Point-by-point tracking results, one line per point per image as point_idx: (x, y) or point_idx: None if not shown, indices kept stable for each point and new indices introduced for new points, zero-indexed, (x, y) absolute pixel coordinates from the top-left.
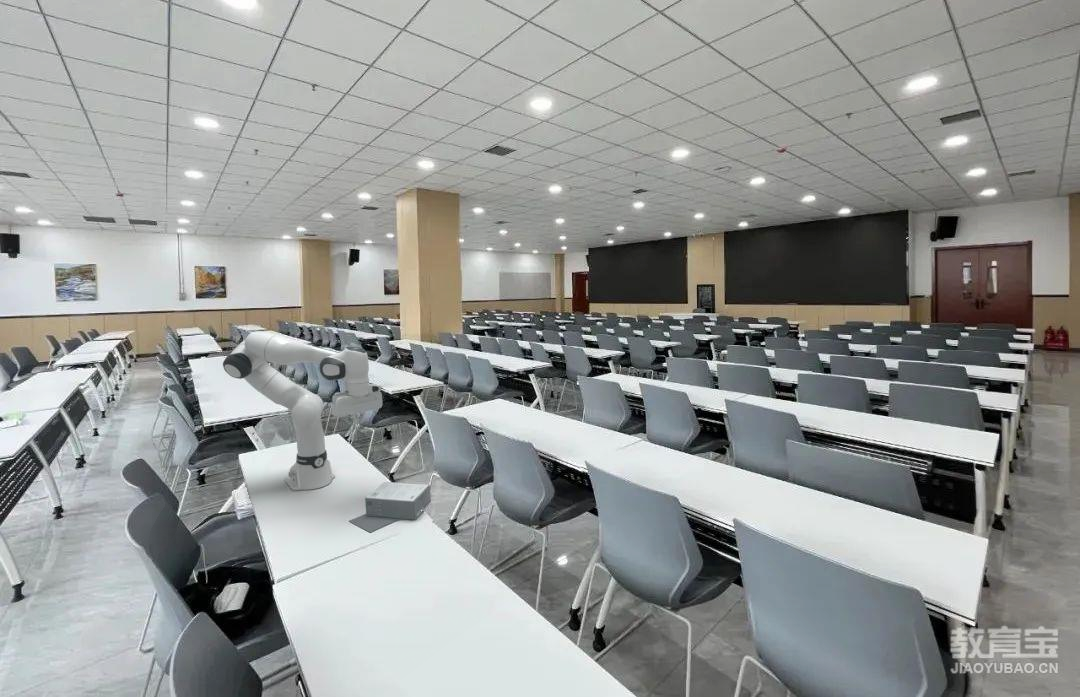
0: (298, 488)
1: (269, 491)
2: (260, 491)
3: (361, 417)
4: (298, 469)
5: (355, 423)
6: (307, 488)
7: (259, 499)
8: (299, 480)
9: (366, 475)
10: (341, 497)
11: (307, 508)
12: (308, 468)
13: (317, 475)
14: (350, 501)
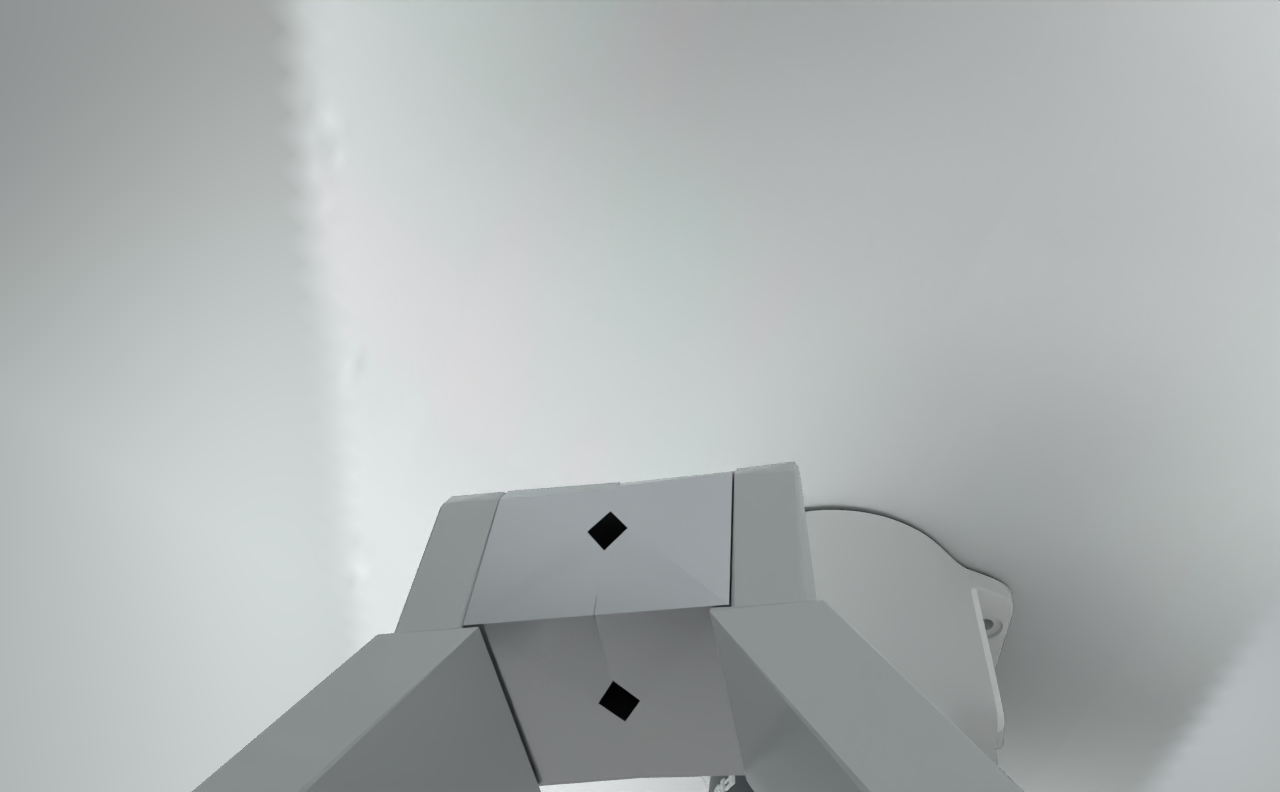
0: (982, 584)
1: (1130, 681)
2: (1169, 715)
3: (432, 720)
4: (993, 730)
5: (804, 522)
6: (928, 545)
7: (1263, 608)
8: (981, 637)
9: (413, 492)
10: (789, 204)
11: (1141, 191)
12: (928, 693)
13: (851, 606)
14: (767, 44)
